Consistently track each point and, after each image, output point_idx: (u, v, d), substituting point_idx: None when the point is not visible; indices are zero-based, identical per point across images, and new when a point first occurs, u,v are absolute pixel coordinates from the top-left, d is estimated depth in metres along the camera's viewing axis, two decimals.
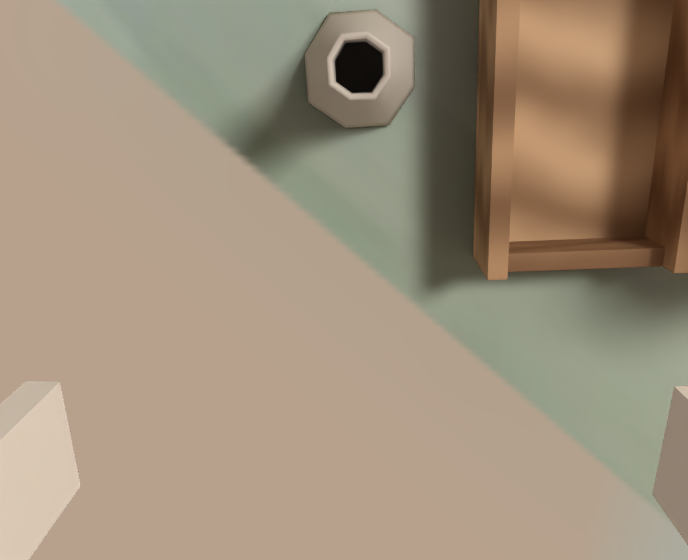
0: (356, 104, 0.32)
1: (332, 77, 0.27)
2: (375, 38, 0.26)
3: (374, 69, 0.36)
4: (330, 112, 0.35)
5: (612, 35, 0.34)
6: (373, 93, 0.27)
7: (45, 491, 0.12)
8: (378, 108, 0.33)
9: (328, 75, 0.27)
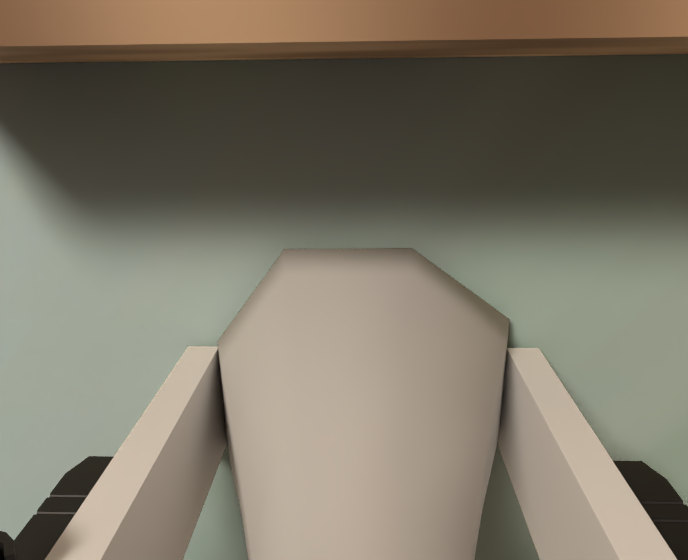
0: (474, 549, 0.09)
1: None
2: None
3: None
4: None
5: None
6: None
7: (212, 441, 0.13)
8: (486, 442, 0.10)
9: None
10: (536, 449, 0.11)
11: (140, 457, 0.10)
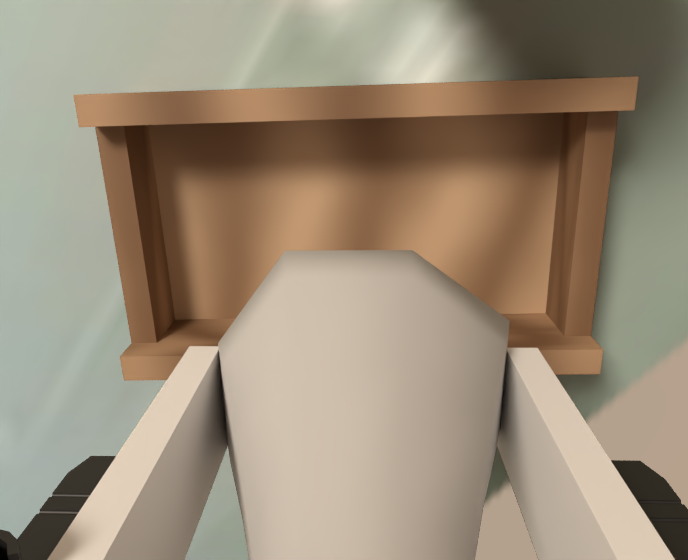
0: (474, 551, 0.09)
1: None
2: None
3: None
4: None
5: (290, 189, 0.27)
6: None
7: (214, 441, 0.13)
8: (487, 444, 0.10)
9: None
10: (534, 448, 0.11)
11: (142, 456, 0.10)
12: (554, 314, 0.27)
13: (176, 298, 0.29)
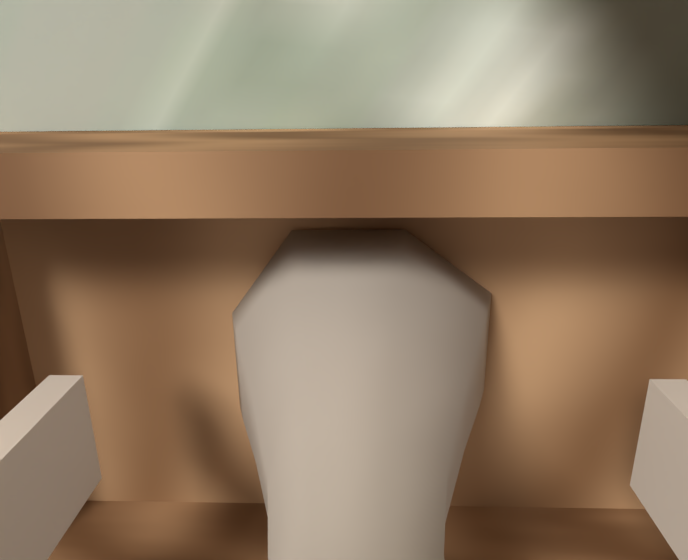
0: (454, 478, 0.11)
1: None
2: None
3: None
4: None
5: None
6: None
7: (69, 482, 0.12)
8: (465, 391, 0.12)
9: None
10: None
11: None
12: None
13: None
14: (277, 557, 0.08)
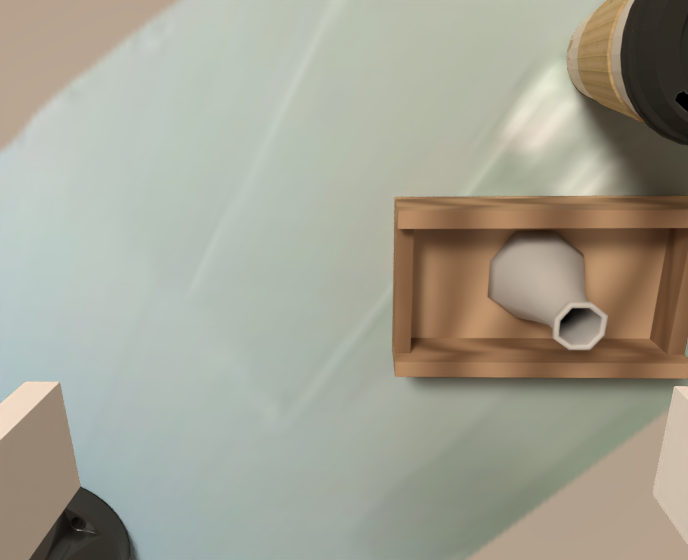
0: None
1: (584, 346, 0.34)
2: (562, 314, 0.34)
3: None
4: None
5: None
6: (602, 317, 0.34)
7: (45, 491, 0.12)
8: (583, 279, 0.39)
9: (582, 349, 0.34)
10: None
11: None
12: (658, 340, 0.43)
13: (410, 324, 0.45)
14: (553, 305, 0.35)
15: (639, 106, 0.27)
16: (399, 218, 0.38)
